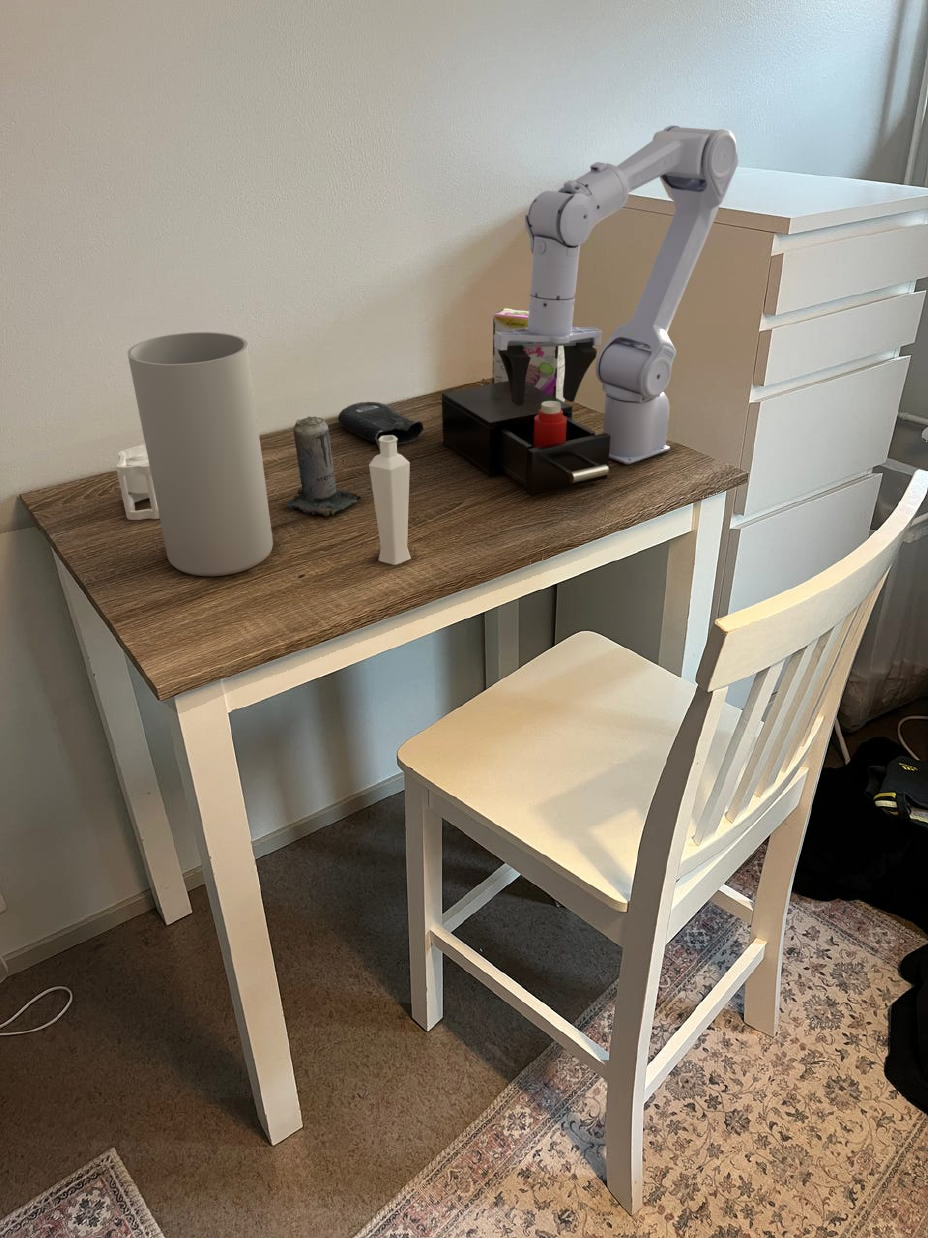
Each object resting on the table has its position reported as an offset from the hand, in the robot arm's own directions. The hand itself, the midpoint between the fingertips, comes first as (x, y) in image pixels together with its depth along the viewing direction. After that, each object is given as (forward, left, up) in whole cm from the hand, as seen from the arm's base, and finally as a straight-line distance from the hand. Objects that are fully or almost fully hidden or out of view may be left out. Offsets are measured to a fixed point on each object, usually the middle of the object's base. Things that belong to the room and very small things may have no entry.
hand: (543, 401), depth 127 cm
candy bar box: (-17, -21, -12) cm, 30 cm away
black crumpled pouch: (+6, -31, -12) cm, 34 cm away
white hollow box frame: (+39, -27, -12) cm, 49 cm away
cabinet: (-4, -12, -12) cm, 17 cm away
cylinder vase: (+44, -8, -12) cm, 47 cm away
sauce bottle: (-2, 0, -10) cm, 10 cm away
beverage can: (+27, -12, -12) cm, 32 cm away
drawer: (-1, +1, -11) cm, 11 cm away
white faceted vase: (+28, +6, -12) cm, 31 cm away
